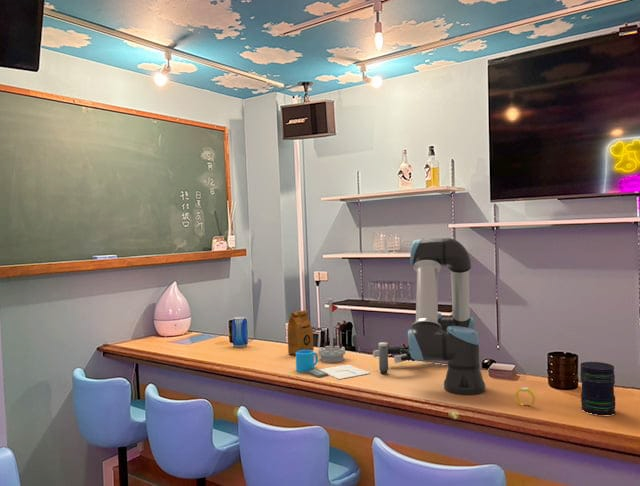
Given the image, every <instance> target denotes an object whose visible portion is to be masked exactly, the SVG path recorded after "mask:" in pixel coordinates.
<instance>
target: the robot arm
mask: <svg viewBox="0 0 640 486" xmlns="http://www.w3.org/2000/svg"><path fill="white" fill-rule="evenodd" d="M409 260H410V261H409V262H410V265H411V266H412V267H413V270H414V271H415V272H416V300H415V301H416V302H415V321H414V322H413V323H412V324H411V328H410V329H407V340H408V341H407V342H408V345H407V346H401V345H399V346H388V355H394V357H393V359H394V360H393V361H394V363H395V364H397V363H401V362H403V363H404V362H406V361H408V362H409V361H411V362H415V361H422V362H424V361H426V362H427V361H429V362H431V361H433V362H435V361H437V362H447V371H446V375H445V379H444V382H443V389H444V390H445V391H447V392H448V393H451V394H457V395H465V396H466V395H470V396H471V395H473V396H474V395H480V394H482V393H485V391H486V382H485V381H484V378H483V375H482V372H481V366H480V365H481V364H480V360H481V359H480V358H481V357H480V336H479V333H478V331H476V330H475V318H474V317H471V313H470V312H471V308H470V307H471V306H470V270H471V269H472V260H471V256H470V253H469V252H468V250H467V248H466V247H465V246H464V245H463V244H462V243H461V242H460V241H458V240H456V239H454V238H451V237H447V238H444V237H442V238H417V239H415V240H413V242H412V244H411V247H410V256H409ZM442 266H447V267H448V270H449V271H450V280H451V282H450V283H451V287H450V288H451V305H452V307H451V308H452V311H451V312H452V316H451V317H450V316H442V313H440V312H439V311H438V308H439V307H438V306H439V305H438V303H439V296H438V295H439V294H438V292H439V272H441V270H442ZM372 352H373V353H372V356H373V358H379V349H375V350H373V351H372Z"/></svg>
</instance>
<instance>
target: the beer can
mask: <svg viewBox="0 0 640 486" xmlns="http://www.w3.org/2000/svg"><path fill="white" fill-rule="evenodd" d="M231 326H232V327H231V328H232V329H231V330H232V346H233V347H234V348H237V349H238V348H245V347H246V348H247V346H248V344H249V335H248V334H249V333H248V331H249V330H248V320H247V319H246V317H245V316H236V317H233V320H232V321H231Z"/></svg>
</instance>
